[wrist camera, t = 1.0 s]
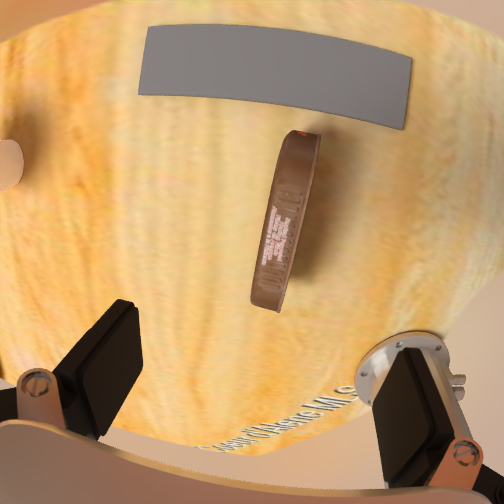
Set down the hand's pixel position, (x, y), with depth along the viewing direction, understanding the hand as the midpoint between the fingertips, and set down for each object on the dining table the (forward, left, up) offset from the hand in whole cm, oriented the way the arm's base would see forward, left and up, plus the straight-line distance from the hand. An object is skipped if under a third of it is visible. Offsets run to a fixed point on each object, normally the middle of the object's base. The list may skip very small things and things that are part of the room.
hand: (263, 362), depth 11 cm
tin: (0, 0, -21) cm, 21 cm away
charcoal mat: (+3, -13, -20) cm, 24 cm away
